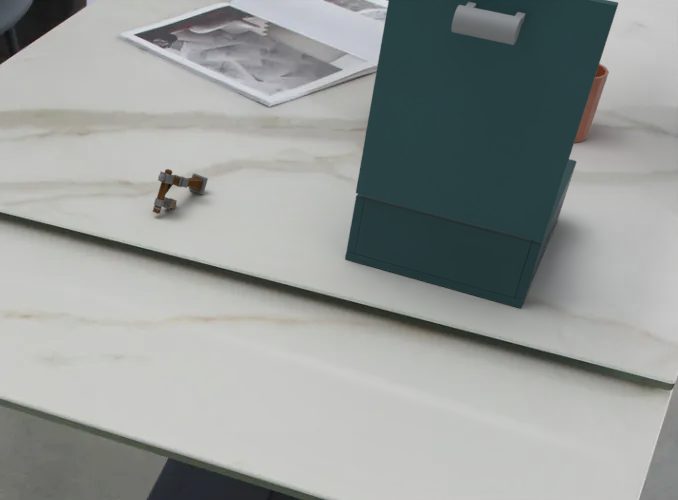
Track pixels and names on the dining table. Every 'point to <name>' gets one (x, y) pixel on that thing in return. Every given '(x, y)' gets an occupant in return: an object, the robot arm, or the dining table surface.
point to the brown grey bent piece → (168, 180)
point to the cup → (592, 103)
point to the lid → (481, 106)
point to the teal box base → (449, 248)
